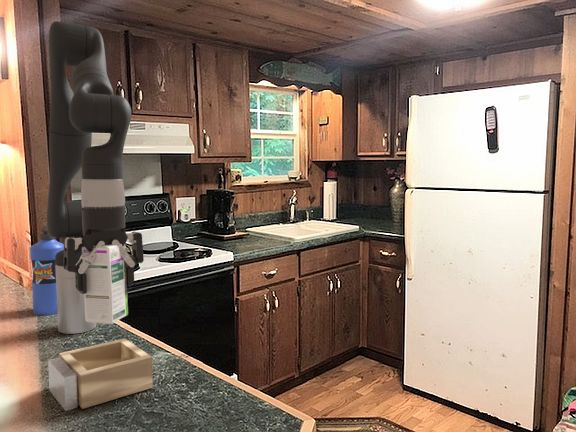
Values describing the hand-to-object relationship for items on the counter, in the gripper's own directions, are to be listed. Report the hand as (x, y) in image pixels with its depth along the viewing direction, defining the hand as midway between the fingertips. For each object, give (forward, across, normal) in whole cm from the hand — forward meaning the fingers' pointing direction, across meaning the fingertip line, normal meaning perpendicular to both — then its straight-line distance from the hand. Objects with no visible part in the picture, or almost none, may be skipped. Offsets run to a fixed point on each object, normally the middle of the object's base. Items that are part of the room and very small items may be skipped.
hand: (105, 289), depth 92 cm
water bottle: (+19, -5, -59) cm, 62 cm away
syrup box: (+6, 0, 0) cm, 6 cm away
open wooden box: (+19, 0, 0) cm, 19 cm away
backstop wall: (+19, +8, 0) cm, 21 cm away
